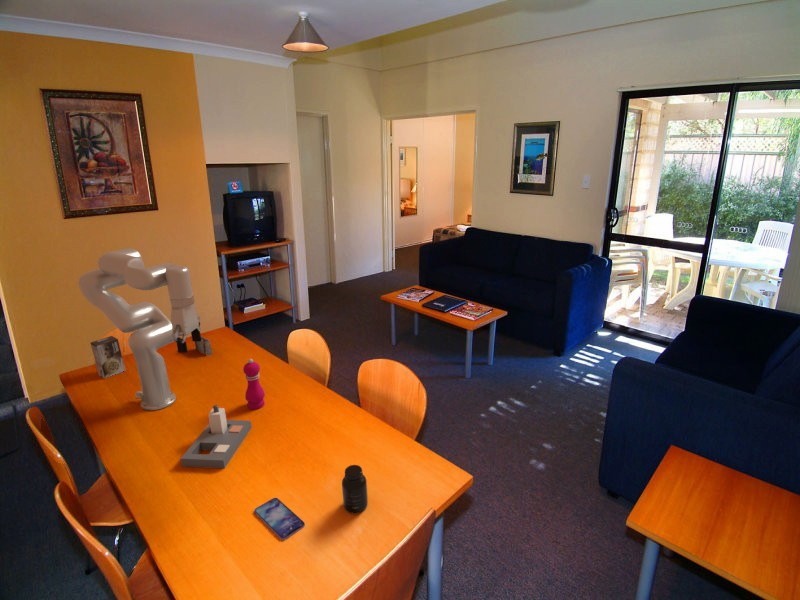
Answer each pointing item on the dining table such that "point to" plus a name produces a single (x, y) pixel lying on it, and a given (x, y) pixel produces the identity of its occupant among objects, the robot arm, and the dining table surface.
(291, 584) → the dining table surface
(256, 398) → the pepper mill
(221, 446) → the socket board
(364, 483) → the supplement bottle
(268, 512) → the smartphone
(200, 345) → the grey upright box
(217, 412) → the plug
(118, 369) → the coffee box
